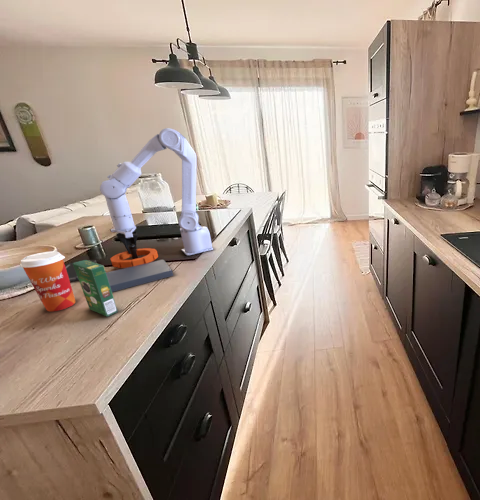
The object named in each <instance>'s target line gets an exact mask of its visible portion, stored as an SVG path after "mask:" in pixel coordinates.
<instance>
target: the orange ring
mask: <svg viewBox="0 0 480 500" xmlns="http://www.w3.org/2000/svg"><path fill="white" fill-rule="evenodd" d="M137 256H138V258H137V259H132V256H131V254H129V252H128V251H127V250H126V251H122V252H119V253H116V254H115V255H113V256H112V257H110V262H111V265H112V267H114V268H118V269H124V268H128V267H133V266H137V265H141V264H146V263H150V262H154V261H156V259H158V258H159V254H158V251H157V249H156V248H151V247H144V248H137ZM141 256H142V257H141ZM129 258H131V259H129Z"/></svg>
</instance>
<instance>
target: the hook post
mask: <svg viewBox="0 0 480 500" xmlns="http://www.w3.org/2000/svg"><path fill="white" fill-rule="evenodd" d="M135 247H137V245H136V246H135V245H134V244H129V246H128V248H129V249H130V252H131V256H132V257H131V260H132V259H137V258H139V256H137V252H136V249H135Z"/></svg>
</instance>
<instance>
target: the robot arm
mask: <svg viewBox="0 0 480 500" xmlns="http://www.w3.org/2000/svg"><path fill="white" fill-rule="evenodd" d="M167 149H169V150H170V151H172V152H174V153H175V155H177V156H178V157H179V158H180V159H181V213H180V214H179V218H178V221H177V222H178V226H179V227H180V228H179V232H180V235H181V240H182V241H181V242H182V244H183V248H181V251H182V252H183V253H184V254H185V255H186V256H192V255H193V256H194V255H197V254H200V253H205V252H209V251H213V250H214V247H213V244H212V238H211V234H210V230H209V228H208V227H207V226H202V225H201V224H199V219H200V216H199V214H198V212H197V161H198V160H197V159H198V158H197V154H196V152H195V150H194V149H193V147H192V146H191V144H190V143H189V141H188V140H187V137H185V136H184V135H183V134H182V133H181V132H179V131H178V130H176V129H174V128H170V127H167V128H166V127H165V128H163V129H161V130H160V131H159V133H157V134H155V135H154V136H153V137H152V138H150V139H149V140H148V141H147V142H146V143H145V144H144V146H143V147H141V149H140V150H139V151H138V153H137V154H136V155H135V156H134V157H133V159H132V160H131V161H123V162H119V163H118V164H117V165H116V167H117V168H116V170H115V171H113V172H112V174H108V175H107V176H106V178H108V179H107V180H103V181H101V184H100V186H99V192H100V193H101V195H103V197H104V198H105V201H106V206H107V209H108V211H109V215H110V218H111V221H112V224H113V228H110V232H111V233H116V234H115V235H116V236H117V238H118V239H119V241H121V242H122V244H123V246H124V247H125V249H126V252H127V251H128V252H129V254H131V252H130V249H129V248H128V246H129V244H134V245H135V246H136V247H135V249H136V252H137V249H138V248H137V240H138V237H139V234H138V233H137V231H136V230H137V225H135V221H134V218H133V217H134V216H133V214H132V211H131V206H130V204H129V201H128V198H127V195H126V193H127V189H128V188H130V187H131V186H133V184H134V183H135V182H136V181H137V180H138V178H140V177H141V176H142V174H143V173H142V167H143V166H145V165H146V164H147V162H149V160H151V158H153V157H154V156H155V155H156V154H157V153H158V152H160V151H165V150H167Z"/></svg>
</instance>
